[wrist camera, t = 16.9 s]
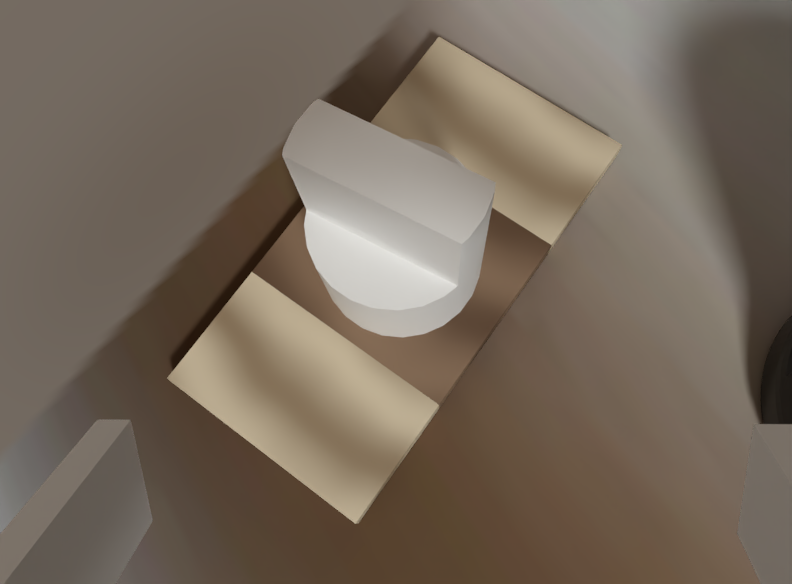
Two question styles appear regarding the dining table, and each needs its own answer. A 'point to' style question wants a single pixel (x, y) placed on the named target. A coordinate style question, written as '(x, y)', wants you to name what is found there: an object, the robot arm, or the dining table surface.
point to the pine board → (386, 355)
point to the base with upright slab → (388, 221)
